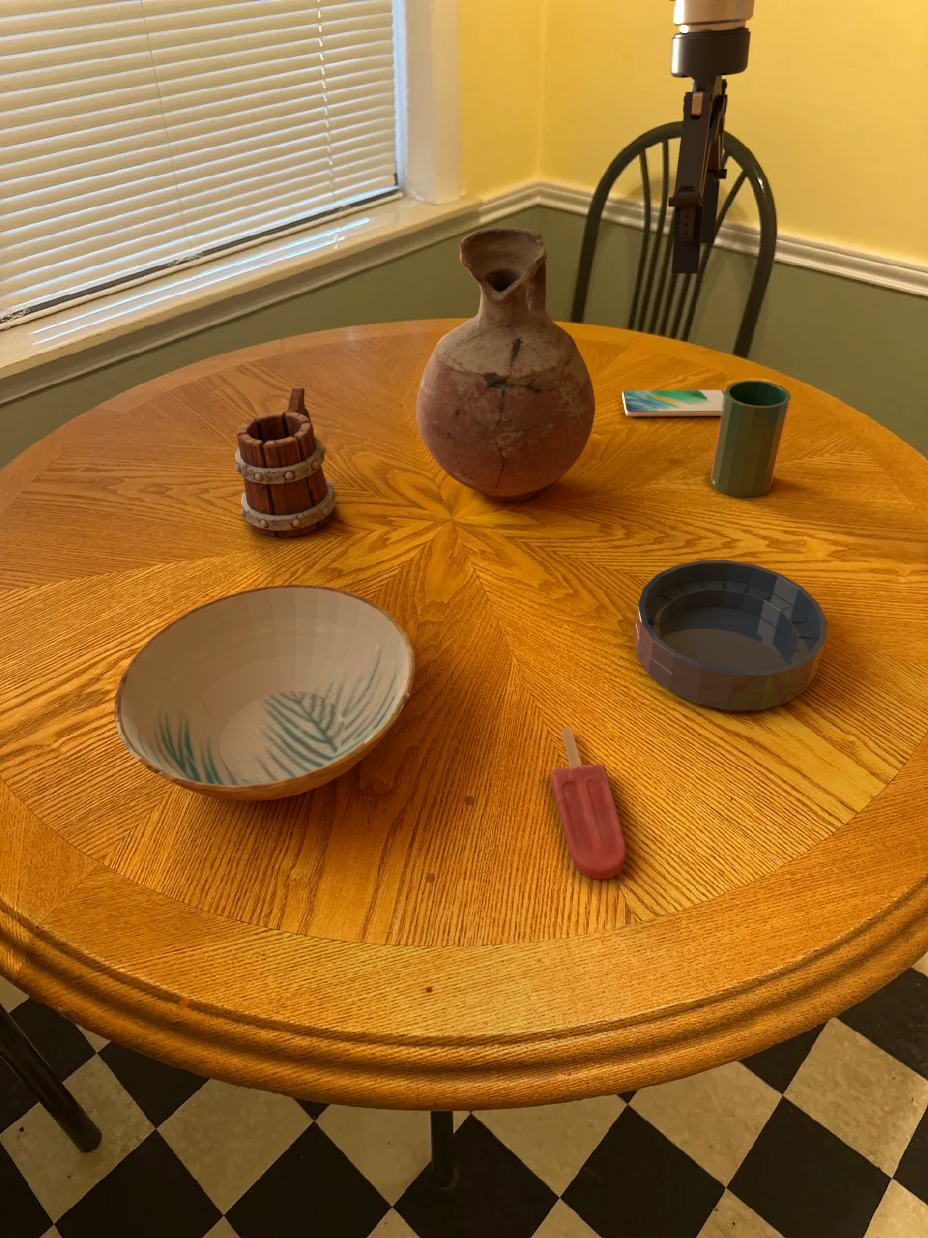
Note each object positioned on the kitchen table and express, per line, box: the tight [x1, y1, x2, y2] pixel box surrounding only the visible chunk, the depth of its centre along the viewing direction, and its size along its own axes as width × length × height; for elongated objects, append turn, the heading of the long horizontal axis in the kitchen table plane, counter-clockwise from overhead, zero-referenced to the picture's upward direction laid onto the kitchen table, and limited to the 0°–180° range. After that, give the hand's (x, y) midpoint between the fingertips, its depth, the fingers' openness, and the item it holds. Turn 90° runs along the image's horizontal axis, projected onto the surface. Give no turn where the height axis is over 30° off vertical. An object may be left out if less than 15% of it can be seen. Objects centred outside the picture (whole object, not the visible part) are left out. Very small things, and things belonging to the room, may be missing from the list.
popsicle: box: [550, 727, 627, 880], centre depth 71 cm, size 4×2×15 cm
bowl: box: [113, 583, 416, 802], centre depth 75 cm, size 25×25×8 cm
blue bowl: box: [633, 559, 828, 711], centre depth 83 cm, size 17×17×5 cm
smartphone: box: [621, 388, 725, 417], centre depth 125 cm, size 7×1×15 cm
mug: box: [234, 387, 338, 538], centre depth 104 cm, size 12×14×15 cm
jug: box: [415, 226, 596, 502], centre depth 102 cm, size 22×22×30 cm
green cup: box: [710, 379, 792, 498], centre depth 105 cm, size 7×7×12 cm
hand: (694, 257), depth 96 cm, fingers open, 13 cm apart
